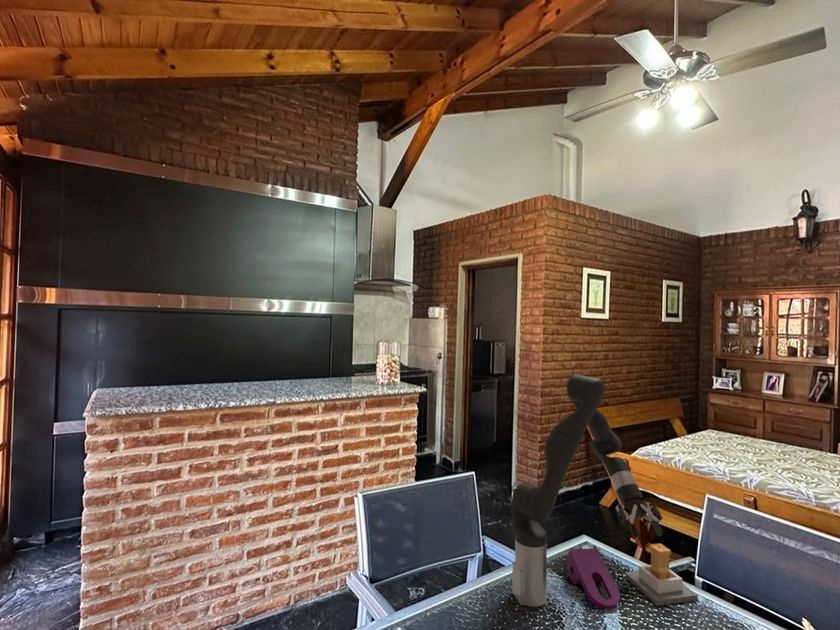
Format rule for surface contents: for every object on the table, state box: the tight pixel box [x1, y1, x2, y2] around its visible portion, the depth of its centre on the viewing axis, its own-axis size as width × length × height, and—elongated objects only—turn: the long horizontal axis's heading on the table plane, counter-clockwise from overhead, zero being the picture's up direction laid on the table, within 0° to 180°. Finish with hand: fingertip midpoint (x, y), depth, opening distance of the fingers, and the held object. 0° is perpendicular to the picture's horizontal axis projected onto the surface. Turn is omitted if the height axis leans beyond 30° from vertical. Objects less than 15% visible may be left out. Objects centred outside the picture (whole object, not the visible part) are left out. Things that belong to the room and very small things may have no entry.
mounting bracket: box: [566, 547, 621, 610], centre depth 135 cm, size 9×8×18 cm
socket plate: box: [625, 564, 699, 606], centre depth 135 cm, size 14×14×5 cm
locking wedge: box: [648, 542, 672, 579], centre depth 136 cm, size 4×4×11 cm
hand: (649, 536), depth 140 cm, fingers open, 8 cm apart
